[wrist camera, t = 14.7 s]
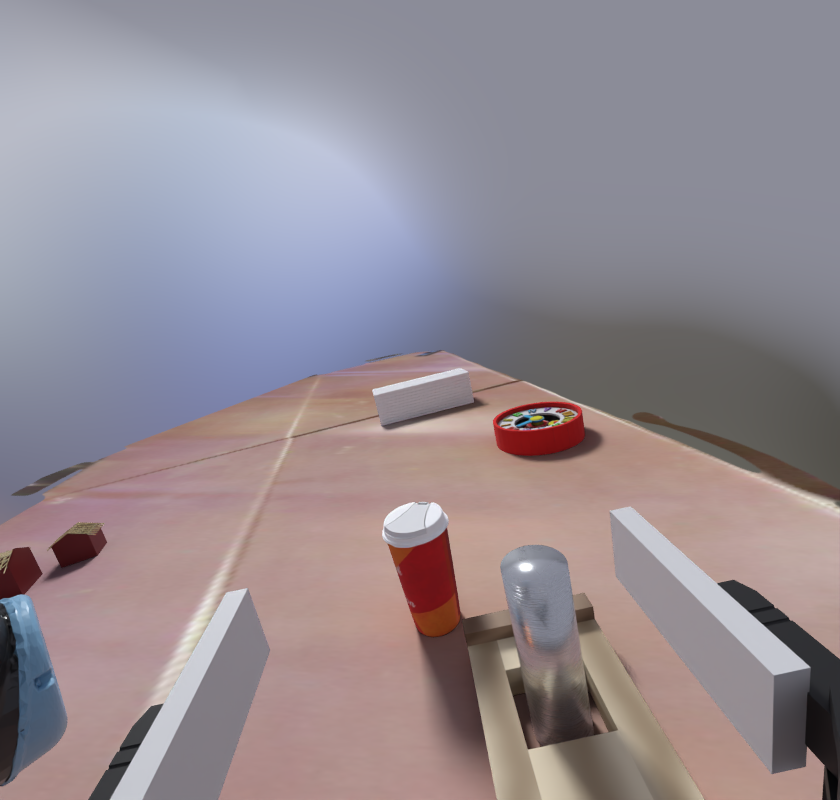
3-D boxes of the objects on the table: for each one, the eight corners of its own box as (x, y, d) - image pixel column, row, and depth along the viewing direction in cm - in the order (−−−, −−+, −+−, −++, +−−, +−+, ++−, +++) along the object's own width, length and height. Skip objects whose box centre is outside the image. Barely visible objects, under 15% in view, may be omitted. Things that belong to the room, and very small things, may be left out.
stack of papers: (381, 426, 137) (373, 395, 134) (379, 418, 147) (372, 389, 145) (474, 402, 140) (468, 372, 138) (466, 396, 151) (460, 367, 148)
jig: (514, 883, 27) (502, 834, 26) (470, 654, 44) (462, 619, 43) (712, 841, 27) (708, 790, 26) (589, 628, 44) (584, 592, 43)
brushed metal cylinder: (543, 763, 33) (509, 594, 29) (525, 704, 38) (494, 552, 34) (604, 749, 33) (578, 578, 29) (578, 692, 38) (553, 539, 34)
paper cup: (421, 592, 55) (397, 498, 52) (477, 599, 52) (455, 499, 49) (395, 639, 49) (366, 535, 45) (457, 651, 45) (430, 538, 42)
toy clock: (602, 409, 91) (529, 438, 84) (605, 434, 93) (533, 464, 85) (541, 397, 109) (477, 420, 102) (544, 418, 111) (481, 443, 104)
